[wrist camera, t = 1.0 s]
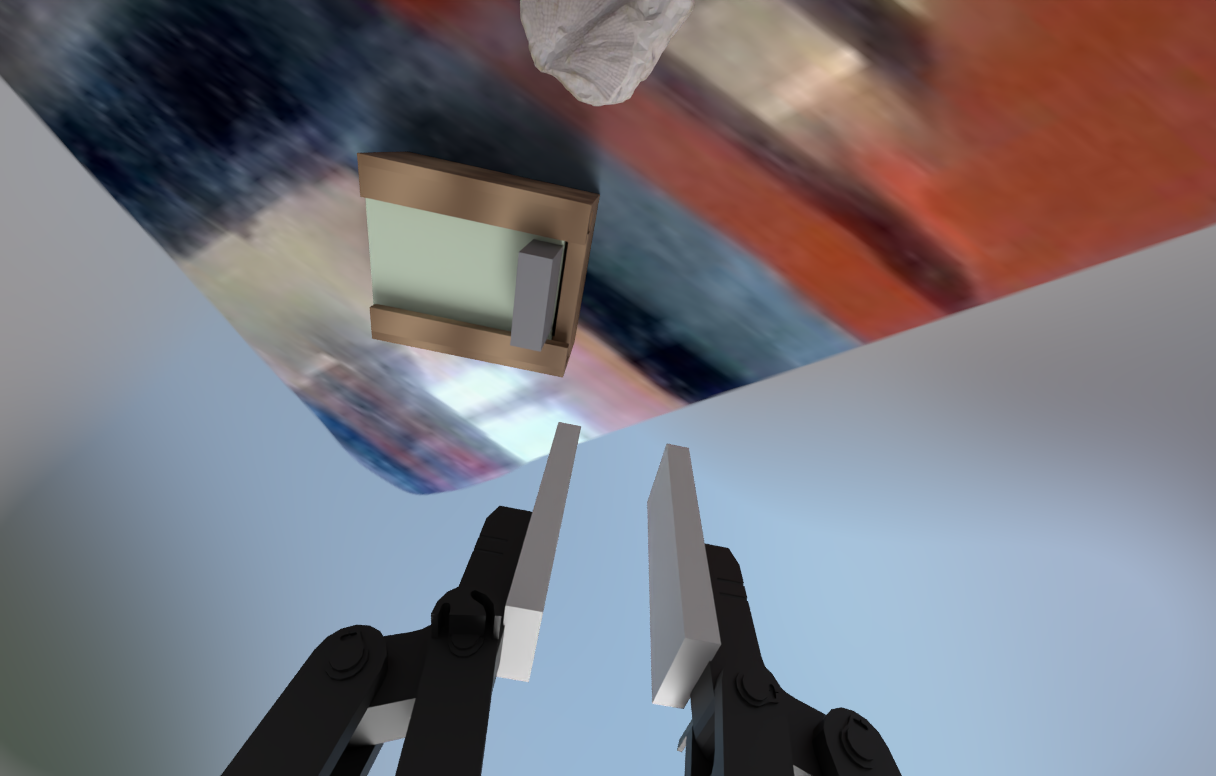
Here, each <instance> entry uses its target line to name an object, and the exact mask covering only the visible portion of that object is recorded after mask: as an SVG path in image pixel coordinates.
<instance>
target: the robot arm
mask: <svg viewBox="0 0 1216 776" xmlns="http://www.w3.org/2000/svg"><path fill="white" fill-rule="evenodd" d="M580 429H581V426H576V425H571V424H566V423H561V422H559V423H558V426H557V429H556V433H555V436H554V440H553V443H552V447H551V450H550V454H549V457H548V461H547V464H546V468H545V471H544V474H543V478H542V481H541V485H540V488H539V492H538V496H537V499H536V502H535V506H534V509H533V512H530V511H525V510H520V509H514V508H509V507H504V506H499V507H498V508H497V509H496V510H495V511H494V512H492V513H491V514H490V515H489V516H488V517H487V518H486V521H485V523H484V526H483V528H482V531H481V533H480V536H479V538H478V540H477V543H476V545H475V548H474V551H473V552H472V555H471V557H470V560H469V562H468V565H467V567H466V570H465V572H464V574H463V577H462V579H461V582H460V584H459V587H457V588H455V589H452V590H450V591H448V592H447V593H446V594H445V595H444V596H443V597H441V599H439V600H438V601H437V603H436V605H435V607H434V609H433V611H432V613H431V625H430V626H427V627H425V628H423V629H421V630H417V631H413V632H408V633H401V634H395V635H389V636H383V635H382V633H381V632H380V631H379V630H377V629H375V628H373V627H371V626H367V625H353V626H350V627H346V628H343V629H340V630H338V631H337V632H335V633H333V634H332V635H330V636H328V637H327V638H326V639H325V640H324V641H323V642H322V643H321V644H320V645H319V646H318V647H317V648H316V649H315V650H314V651H313V652H312V654H311V655H310V656H309V658H308V659H307V660H306V662H305V663H304V664H303V666H302V667H301V668H300V670H299V671H298V673H297V674H296V675H295V677H294V678H293V679H292V681H291V682H290V683H289V685H288V686H287V687H286V689H285V690H284V691H283V693H282V694H281V695H280V697H279V698H278V699H277V701H276V702H275V703H274V705H273V706H272V708H271V709H270V710H269V711H268V713H267V714H266V715H265V717H264V718H263V720H262V721H261V722H260V724H259V725H258V726H257V728H256V729H255V731H254V732H253V733H252V734H251V736H250V737H249V738H248V740H247V741H246V742H245V744H244V745H243V746H242V748H241V749H240V750H239V752H238V753H237V755H236V756H235V757H234V759H233V760H232V761H231V763H230V764H229V765H228V767H227V768H226V769H225V771H224V772H223V773H222V775H221V776H367V775H368V773H369V771H370V769H371V767H372V765H373V763H374V761H375V759H376V757H377V755H378V753H379V751H380V749H381V747H382V745H383V743H384V742H388V741H393V740H397V739H401V738H405V741H404V744H403V748H402V752H401V756H400V759H399V763H398V767H397V771H396V775H395V776H481V772H482V764H483V757H484V749H485V741H486V733H487V726H488V719H489V711H490V703H491V695H492V691H493V687H494V683H495V679H496V677H502V678H508V679H514V680H520V681H525V682H529V678H530V673H531V669H532V664H533V659H534V654H535V649H536V644H537V639H538V634H539V630H540V624H541V620H542V614H543V610H544V605H545V600H546V595H547V591H548V585H549V580H550V576H551V571H552V566H553V561H554V556H555V551H556V547H557V541H558V537H559V531H560V527H561V522H562V517H563V512H564V507H565V503H566V498H567V493H568V488H569V483H570V478H571V473H572V468H573V464H574V458H575V453H576V449H577V444H578V439H579V434H580ZM647 506H648V507H647V509H648V550H649V589H650V590H649V591H650V632H651V675H652V703H653V704H658V705H664V706H670V707H676V708H682V709H684V707H685V706H686V704H687V702H688V700H689V699H690V698H691V709H692V720H691V722H690V723H689V725H688V727H687V729H686V730H685V732H684V733H683V735H682V737H681V738H680V740H679V744H678V748H677V751H680V752H682V751H683V749H684V748H685V746H686V757H685V776H902V775H901V773H900V771H899V769H898V767H897V765H896V763H895V761H894V759H893V757H892V755H891V752H890V750H889V748H888V747H887V745H886V743H885V742H884V740H883V739H882V737H881V735H880V734H879V732H878V731H877V730H876V729H875V728H874V727H873V726H872V725H871V724H870V723H869V722H868V721H867V719H865V718H863V717H862V716H860V715H859V714H857V713H856V712H854V711H852V710H848V709H845V708H836V709H831V711H830V712H829V713H828V714H827V715H825V714H823V713H822V712H820V711H817V710H816V709H814V708H812V707H810V706H808V705H807V704H805V703H803V702H801V701H799V700H797V699H795V698H794V697H792V696H791V695H789V694H788V693H786V692H785V691H784V690H783V689H782V688H781V687H780V685H779V684H778V682H777V681H776V679H775V677H774V676H773V674H772V673H771V672H770V671H769V670H768V669H767V668H766V667H765V665H764V663H763V660H762V657H761V653H760V649H759V645H758V641H757V637H756V633H755V628H754V624H753V620H752V616H751V612H750V607H749V603H748V601H747V595H746V591H745V587H744V586H743V583H744V582H743V578H742V574H741V570H740V566H739V564H738V562H737V561H736V559H735V557H734V556H733V554H732V553H731V551H730V550H729V548H725V547H720V546H714V545H710V544H704V538H703V532H702V526H701V519H700V514H699V507H698V501H697V495H696V490H695V484H694V477H693V471H692V465H691V459H690V453H689V448H686V447H681V446H676V445H671V444H667V445H666V447H665V451H664V453H663V456H662V459H661V462H660V465H659V469H658V472H657V475H656V477H655V480H654V483H653V486H652V489H651V493H650V495H649V498H648V502H647Z"/></svg>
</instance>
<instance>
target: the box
mask: <svg viewBox="0 0 1216 776" xmlns="http://www.w3.org/2000/svg"><path fill="white" fill-rule="evenodd" d="M357 159H358V171H359V183H360V195H361V197H364V198H369V199H374V200H378V201H383V202H387V203H392V204H397V205H401V206H406V207H410V208H415V209H420V210H424V211H429V212H433V213H438V214H442V215H447V216H452V217H456V218H461V219H465V220H470V221H475V222H479V223H484V224H488V225H493V226H498V227H502V228H507V229H511V230H516V231H521V232H525V233H530V234H534V235H539V236H543V237H548V238H553V239H557V240H562V241H566V243H565V250H564V257H563V264H562V271H561V277H560V284H559V291H558V298H557V305H556V312H555V319H554V326H553V333H552V340H549V339H546V341H545V343H544V346H543V348H542V350H541V352H540V351H535V350H530V349H525V348H520V347H515V346H511V345H510V341H511V332H510V331H506V330H501V329H496V328H491V327H486V326H481V325H477V324H472V323H467V322H462V321H457V320H453V319H448V318H443V317H438V316H433V315H428V314H424V313H419V312H414V311H409V310H404V309H400V308H395V307H390V306H385V305H380V304H374V305H373V306H371V307H370V317H371V330H372V339H377V340H382V341H387V342H392V343H397V344H402V345H406V346H411V347H416V348H421V349H426V350H431V351H436V352H441V353H446V354H451V355H455V356H460V357H465V358H470V359H475V360H480V361H485V362H490V363H495V364H500V365H504V366H509V367H514V368H519V369H524V370H529V371H534V372H539V373H544V374H549V375H553V376H558V377H563V376H564V372H565V369H566V366H567V363H568V360H569V357H570V354H571V351H572V348H573V345H574V341H575V335H576V330H577V324H578V318H579V312H580V306H581V301H582V295H583V289H584V283H585V278H586V272H587V266H588V260H589V254H590V249H591V243H592V237H593V231H594V226H595V220H596V214H597V208H598V203H599V197H600V194H596V193H591V192H587V191H582V190H578V189H573V188H569V187H564V186H560V185H555V184H551V183H546V182H542V181H537V180H533V179H529V178H524V177H520V176H515V175H511V174H506V173H502V172H497V171H493V170H488V169H484V168H479V167H475V166H470V165H466V164H461V163H457V162H452V161H448V160H443V159H439V158H434V157H430V156H426V155H421V154H417V153H412V152H373V153H357Z"/></svg>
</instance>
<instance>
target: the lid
mask: <svg viewBox="0 0 1216 776" xmlns="http://www.w3.org/2000/svg"><path fill="white" fill-rule="evenodd" d="M365 199H366V212H367V225H368V238H369V251H370V264H371V277H372V290H373V303H374V304H380V305H385V306H390V307H395V308H400V309H404V310H409V311H414V312H419V313H424V314H428V315H433V316H438V317H443V318H448V319H453V320H457V321H462V322H467V323H472V324H477V325H481V326H486V327H491V328H496V329H501V330H506V331H510V332H511V341H510V345H511V346H515V347H520V348H525V349H530V350H535V351H540V352H541V350H542V348H543V346H544V343H545V341H546V339H549V340H552V333H553V326H554V319H555V312H556V305H557V298H558V291H559V284H560V277H561V271H562V264H563V257H564V250H565V243H566V241H562V240H557V239H553V238H548V237H543V236H539V235H534V234H530V233H525V232H521V231H516V230H511V229H507V228H502V227H498V226H493V225H488V224H484V223H479V222H475V221H470V220H465V219H461V218H456V217H452V216H447V215H442V214H438V213H433V212H429V211H424V210H420V209H415V208H410V207H406V206H401V205H397V204H392V203H387V202H383V201H378V200H374V199H369V198H365Z"/></svg>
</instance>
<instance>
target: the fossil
mask: <svg viewBox="0 0 1216 776" xmlns="http://www.w3.org/2000/svg"><path fill="white" fill-rule="evenodd" d="M694 4H695V0H520V16H521V22H522V24H523V27H524V31H525V34H526V37H527V39H528V42H529V51H530V54H531V57H532V59H533V61H534V66H536V67H537V68H538V70H540V71H541V72H544V73H547V74H550V75H552V76H554V77H555V78H557V79H558V80H559V81H560V82H561V83H562V84H563V85H564V87H565V88H566V89H567V90H568V91H569V92H571V94H572V95H573V96H574V97H575V98H576V99H577V100H578V101H581V102H584V103H587V104H591V105H593V106H602V105H610V104H617V103H622V102H624V101H625V100H627V99H630V98H631V96H632V94H633V92H634V90H635V88H636V87H637V86H638V85H639V83H640V81H643V80H646V79H647V77H648V76H649V75H650V73H651V72H652V70H653V68H654V66H655V65H656V63H657V61H658V60H659V58H660V56H661V54H662V52H663V51H664V50H665V48H666V47H667V45H668V43H669V41H670V39H671V37H672V36H674V34H675V33H676V32H677V31H678V29H679V28H680V27H681V26H682V24H683V23H684V21H685V20H686V19H687V17H688V16H689V15H690V13H691V12H692V11H693V9H694Z"/></svg>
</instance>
